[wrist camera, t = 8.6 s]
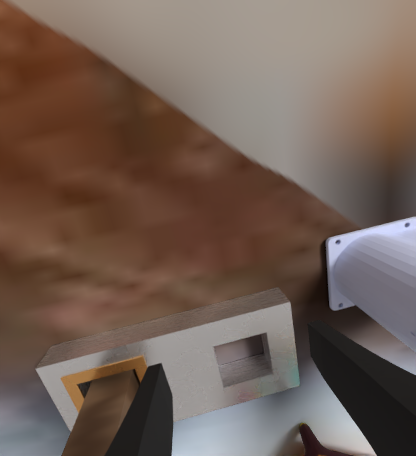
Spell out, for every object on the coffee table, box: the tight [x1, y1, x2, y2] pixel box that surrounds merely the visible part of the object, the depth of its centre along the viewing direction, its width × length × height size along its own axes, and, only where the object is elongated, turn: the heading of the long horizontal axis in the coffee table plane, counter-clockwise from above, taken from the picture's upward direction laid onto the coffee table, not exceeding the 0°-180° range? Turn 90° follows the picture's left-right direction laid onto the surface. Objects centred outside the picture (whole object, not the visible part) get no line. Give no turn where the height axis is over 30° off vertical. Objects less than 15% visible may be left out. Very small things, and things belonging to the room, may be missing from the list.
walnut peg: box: [62, 369, 140, 456], centre depth 19 cm, size 4×4×8 cm
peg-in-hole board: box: [36, 287, 300, 432], centre depth 22 cm, size 22×10×3 cm, turn 102°
